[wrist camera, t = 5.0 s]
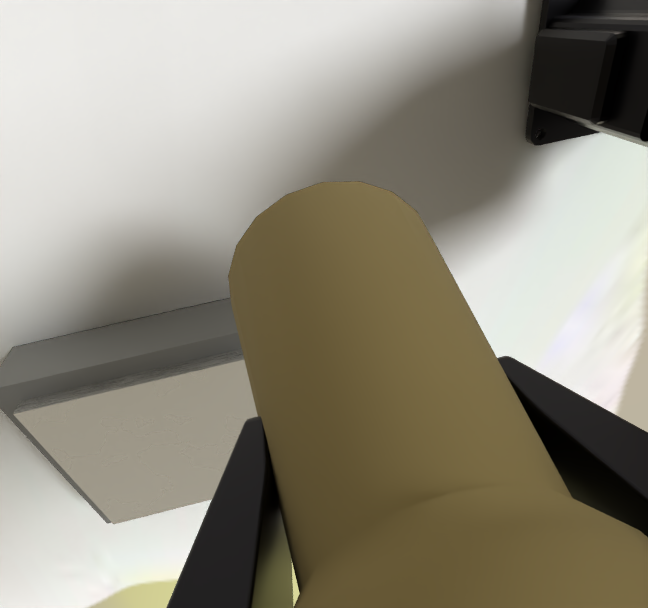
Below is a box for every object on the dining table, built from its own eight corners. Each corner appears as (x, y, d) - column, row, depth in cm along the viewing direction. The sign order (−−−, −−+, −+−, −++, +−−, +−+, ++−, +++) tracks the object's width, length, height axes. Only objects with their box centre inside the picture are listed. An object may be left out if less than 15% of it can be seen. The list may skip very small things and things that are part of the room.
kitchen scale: (268, 289, 22) (274, 335, 19) (308, 436, 29) (318, 486, 26) (12, 347, 21) (-25, 404, 18) (121, 483, 28) (107, 540, 25)
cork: (365, 379, 15) (572, 945, 6) (195, 331, 12) (102, 1186, 3) (475, 235, 12) (1153, 859, 3) (287, 136, 10) (963, 1639, 1)
